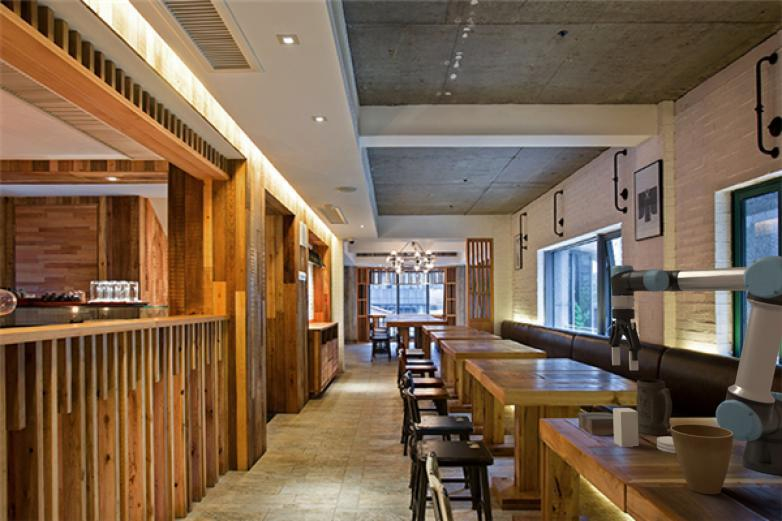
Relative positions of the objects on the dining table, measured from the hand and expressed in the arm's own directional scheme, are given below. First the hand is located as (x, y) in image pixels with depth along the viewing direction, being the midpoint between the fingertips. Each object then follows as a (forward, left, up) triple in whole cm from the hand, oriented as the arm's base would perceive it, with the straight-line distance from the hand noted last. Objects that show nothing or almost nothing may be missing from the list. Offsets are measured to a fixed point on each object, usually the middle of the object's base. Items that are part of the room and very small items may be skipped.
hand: (624, 367), depth 192 cm
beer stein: (+13, -18, -27) cm, 35 cm away
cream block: (-1, +1, -27) cm, 27 cm away
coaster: (-8, -12, -27) cm, 31 cm away
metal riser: (+18, +2, -27) cm, 33 cm away
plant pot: (-45, +1, -27) cm, 52 cm away
